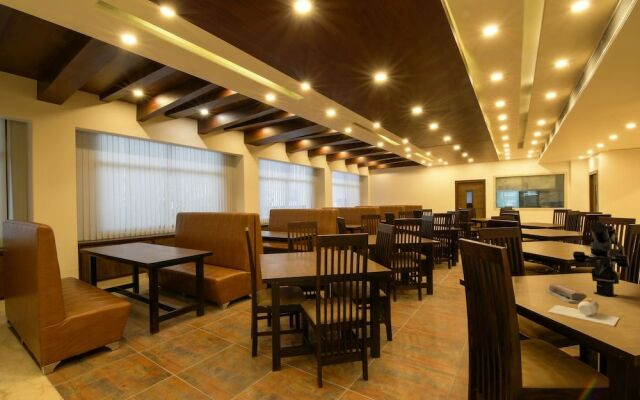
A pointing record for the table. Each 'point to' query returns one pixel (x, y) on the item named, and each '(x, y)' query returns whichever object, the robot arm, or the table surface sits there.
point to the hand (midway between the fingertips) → (597, 273)
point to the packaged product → (566, 293)
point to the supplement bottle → (588, 306)
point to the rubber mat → (577, 314)
